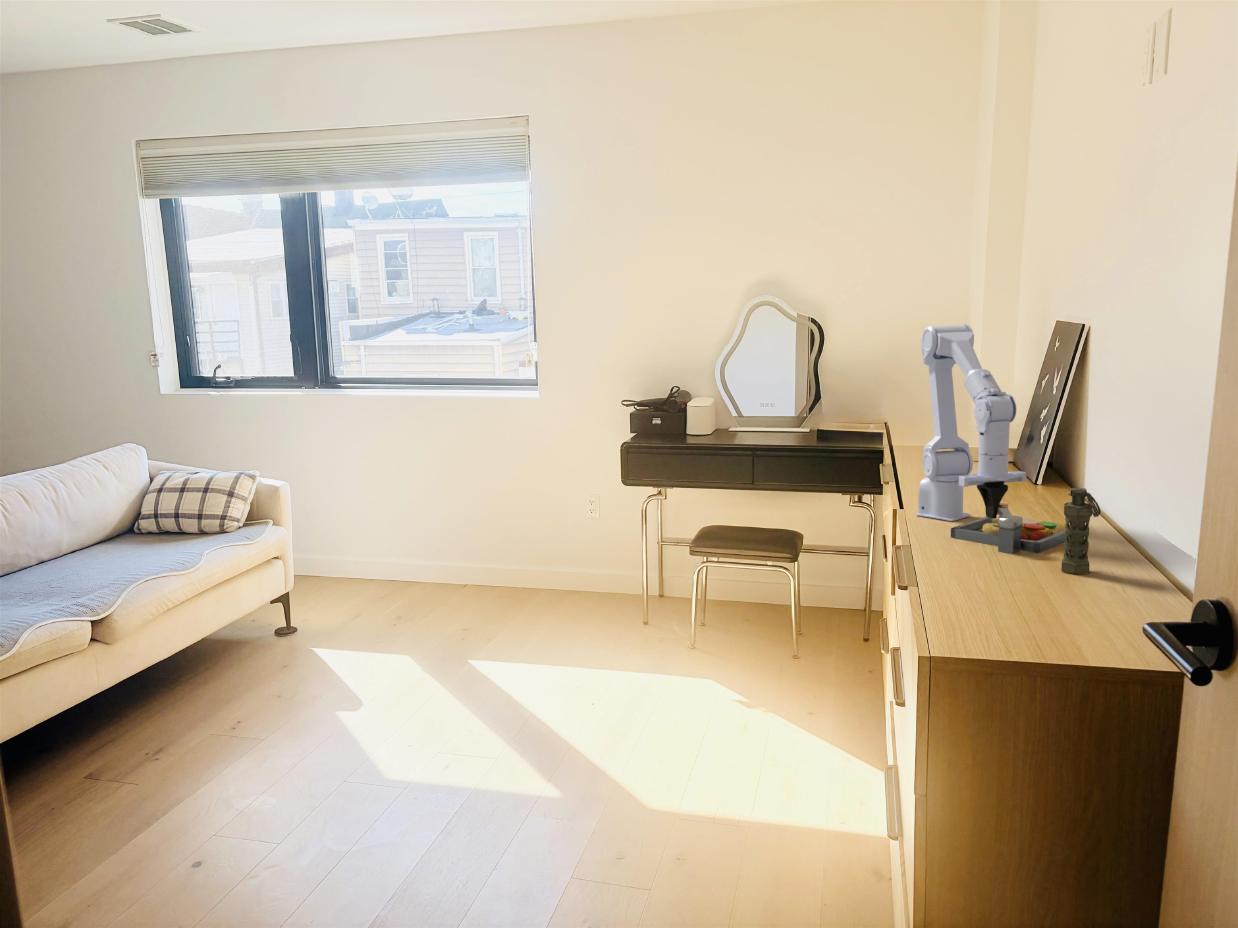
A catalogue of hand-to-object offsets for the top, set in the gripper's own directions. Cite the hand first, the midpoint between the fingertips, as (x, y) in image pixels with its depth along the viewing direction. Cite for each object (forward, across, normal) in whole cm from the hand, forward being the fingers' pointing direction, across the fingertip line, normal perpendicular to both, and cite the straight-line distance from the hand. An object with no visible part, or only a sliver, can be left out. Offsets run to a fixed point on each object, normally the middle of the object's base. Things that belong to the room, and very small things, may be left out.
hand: (991, 517), depth 180 cm
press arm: (-1, -1, -6) cm, 6 cm away
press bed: (+4, +1, -3) cm, 5 cm away
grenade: (+4, 0, -26) cm, 26 cm away
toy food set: (+5, +5, -2) cm, 7 cm away
